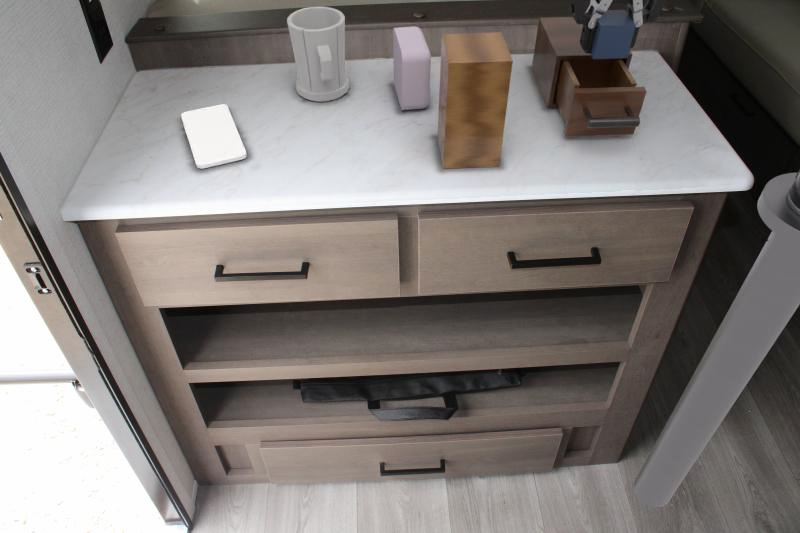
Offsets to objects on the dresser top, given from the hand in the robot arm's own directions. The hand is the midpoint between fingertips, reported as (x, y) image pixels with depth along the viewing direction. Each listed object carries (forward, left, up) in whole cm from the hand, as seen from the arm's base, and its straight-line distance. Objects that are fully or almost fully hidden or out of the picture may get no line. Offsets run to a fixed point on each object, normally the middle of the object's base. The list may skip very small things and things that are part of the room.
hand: (605, 49), depth 89 cm
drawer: (-1, +1, -11) cm, 11 cm away
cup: (+40, +14, -12) cm, 44 cm away
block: (0, 0, 0) cm, 0 cm away
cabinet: (+6, -9, -12) cm, 16 cm away
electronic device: (+27, +8, -12) cm, 31 cm away
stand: (+12, +17, -12) cm, 24 cm away
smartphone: (+46, +34, -12) cm, 59 cm away
